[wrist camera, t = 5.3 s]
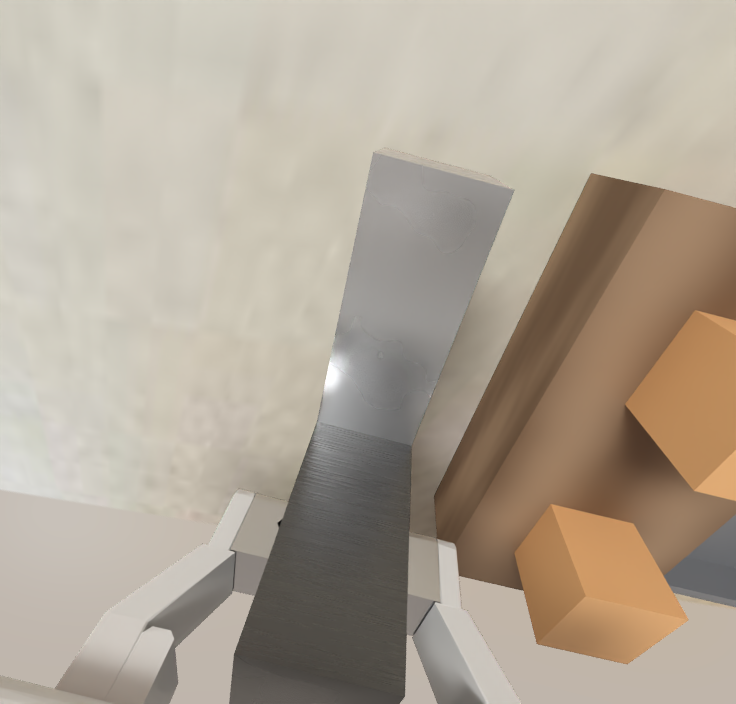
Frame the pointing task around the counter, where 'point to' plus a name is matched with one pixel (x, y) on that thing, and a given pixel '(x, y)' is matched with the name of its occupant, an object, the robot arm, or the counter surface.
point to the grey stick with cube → (368, 444)
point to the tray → (709, 568)
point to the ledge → (592, 383)
